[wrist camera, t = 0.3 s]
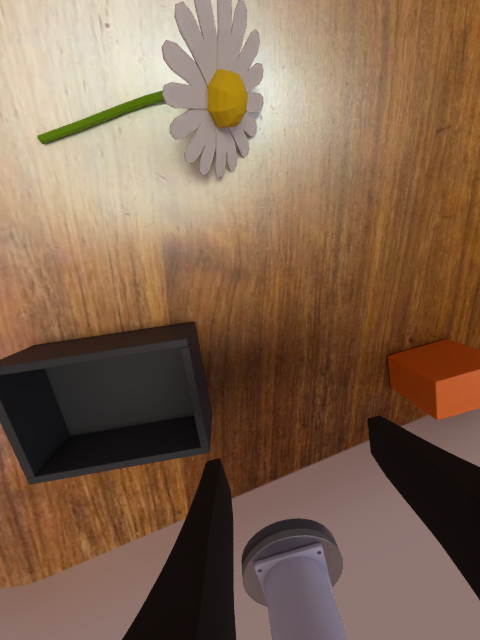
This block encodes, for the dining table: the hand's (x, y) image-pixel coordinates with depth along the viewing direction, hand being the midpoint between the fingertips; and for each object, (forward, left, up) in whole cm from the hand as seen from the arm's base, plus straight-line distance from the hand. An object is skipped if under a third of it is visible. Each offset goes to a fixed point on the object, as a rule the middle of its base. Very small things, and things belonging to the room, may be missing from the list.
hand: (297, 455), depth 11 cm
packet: (-5, -15, -10) cm, 19 cm away
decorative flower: (+18, +3, -10) cm, 21 cm away
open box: (+2, +12, -10) cm, 16 cm away
